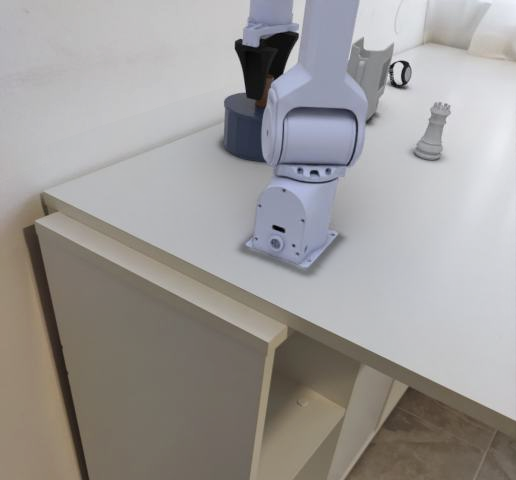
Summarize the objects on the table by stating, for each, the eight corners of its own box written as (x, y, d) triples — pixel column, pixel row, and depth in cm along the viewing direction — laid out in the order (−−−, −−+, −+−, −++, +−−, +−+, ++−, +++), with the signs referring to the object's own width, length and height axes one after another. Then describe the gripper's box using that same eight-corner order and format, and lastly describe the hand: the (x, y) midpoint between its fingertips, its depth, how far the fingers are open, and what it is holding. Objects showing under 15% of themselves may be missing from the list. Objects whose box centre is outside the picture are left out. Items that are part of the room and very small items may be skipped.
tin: (272, 167, 79) (277, 127, 75) (210, 148, 82) (212, 108, 78) (303, 146, 86) (309, 108, 82) (245, 128, 89) (248, 91, 85)
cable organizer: (381, 109, 103) (397, 40, 95) (364, 128, 95) (381, 53, 87) (348, 102, 105) (361, 33, 97) (329, 120, 96) (342, 46, 88)
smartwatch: (397, 90, 114) (403, 64, 111) (382, 82, 118) (388, 57, 114) (412, 89, 116) (418, 64, 113) (397, 81, 119) (403, 57, 116)
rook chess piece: (441, 162, 86) (458, 111, 81) (413, 158, 86) (428, 106, 81) (439, 152, 89) (455, 102, 84) (413, 148, 90) (427, 98, 84)
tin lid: (286, 132, 75) (291, 94, 72) (210, 115, 77) (212, 77, 74) (309, 109, 83) (315, 74, 80) (241, 94, 86) (243, 59, 82)
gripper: (284, -7, 63) (272, 111, 72) (318, -20, 74) (303, 84, 83) (230, -17, 65) (224, 100, 74) (270, -28, 75) (261, 76, 84)
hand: (263, 91), depth 78 cm, fingers open, 7 cm apart
